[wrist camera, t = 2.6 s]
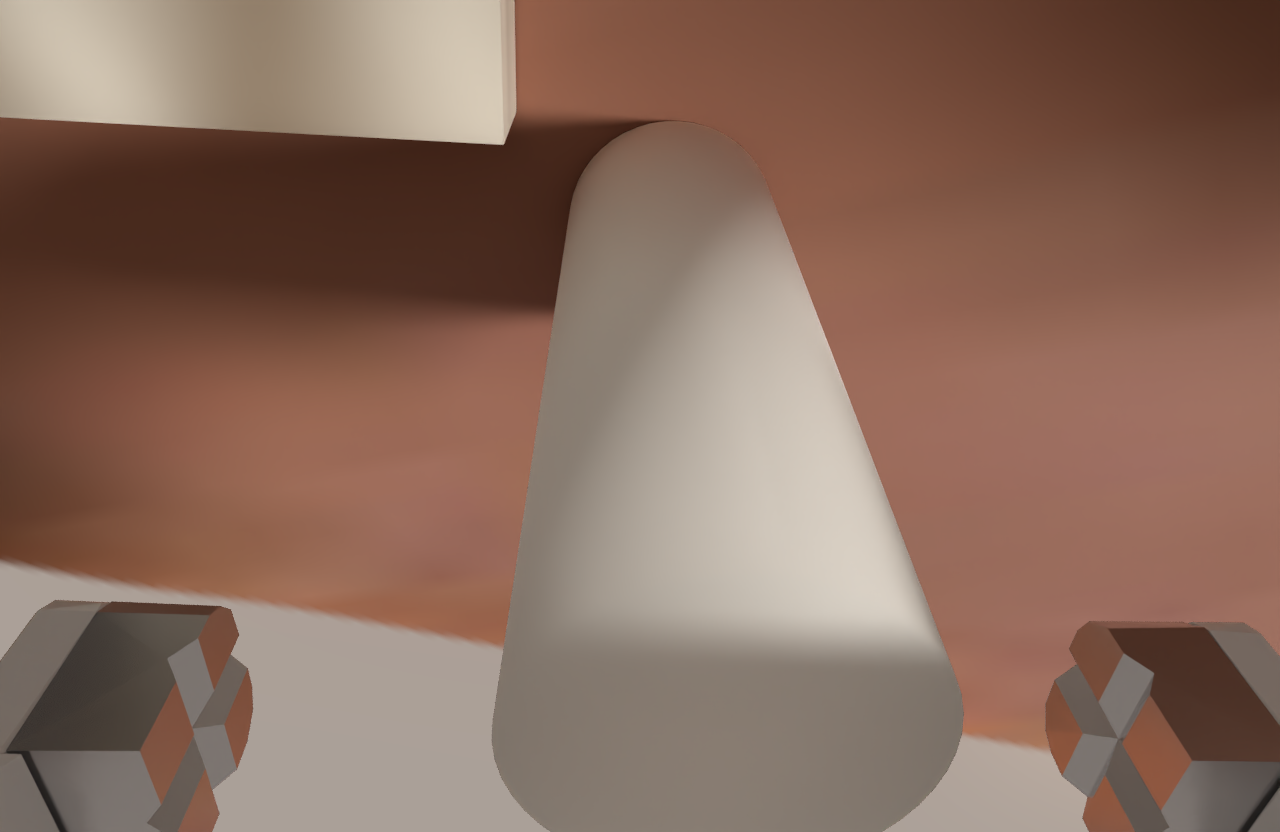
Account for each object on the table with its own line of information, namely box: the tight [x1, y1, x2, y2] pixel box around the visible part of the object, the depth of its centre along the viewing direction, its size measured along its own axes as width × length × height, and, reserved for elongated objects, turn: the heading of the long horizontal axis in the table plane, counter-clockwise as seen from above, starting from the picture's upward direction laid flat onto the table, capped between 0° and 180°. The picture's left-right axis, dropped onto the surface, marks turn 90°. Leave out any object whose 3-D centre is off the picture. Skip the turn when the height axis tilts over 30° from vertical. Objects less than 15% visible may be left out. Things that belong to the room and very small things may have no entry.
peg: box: [492, 121, 964, 832], centre depth 13 cm, size 4×4×12 cm
